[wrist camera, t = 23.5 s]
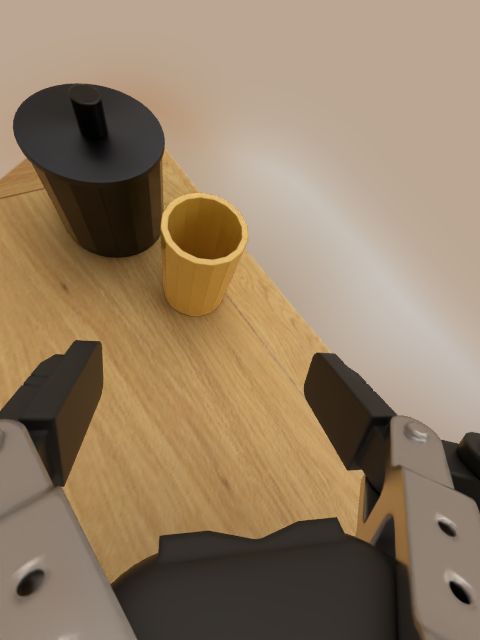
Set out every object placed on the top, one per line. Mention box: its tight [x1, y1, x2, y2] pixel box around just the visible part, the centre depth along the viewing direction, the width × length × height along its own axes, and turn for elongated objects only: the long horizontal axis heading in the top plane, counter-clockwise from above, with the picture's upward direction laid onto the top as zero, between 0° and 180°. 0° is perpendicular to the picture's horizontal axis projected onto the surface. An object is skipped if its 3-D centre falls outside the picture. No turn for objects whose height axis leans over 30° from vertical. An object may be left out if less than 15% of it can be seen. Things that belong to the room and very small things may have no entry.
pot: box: [32, 159, 163, 257], centre depth 26 cm, size 10×10×10 cm
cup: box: [160, 193, 248, 316], centre depth 25 cm, size 6×6×10 cm
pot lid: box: [13, 84, 165, 188], centre depth 20 cm, size 10×10×4 cm
